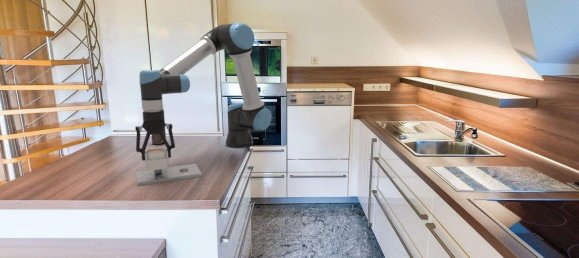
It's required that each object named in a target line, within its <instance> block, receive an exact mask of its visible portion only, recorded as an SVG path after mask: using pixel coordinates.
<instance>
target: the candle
mask: <svg viewBox="0 0 579 258" xmlns="http://www.w3.org/2000/svg"><path fill="white" fill-rule="evenodd" d="M162 111H163V115H164V116H165V109H164V108H163V109H162ZM165 119H166V118H164V122H165ZM165 123H166V122H165ZM162 132H163V134H164V136H165V138H166V139H167V137H166V136H167V133H166V126H165V127H164V129H163V130H162ZM151 143H152V145H162V144H163V145H164V144H165V143H164V141H163V140H162V138H161V136H160V134H151Z"/></svg>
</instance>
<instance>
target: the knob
mask: <svg viewBox="0 0 579 258" xmlns="http://www.w3.org/2000/svg"><path fill="white" fill-rule="evenodd" d="M146 149H147V148H146ZM165 149H166V148H161V147H157V148H150V149H147V150H146V151H147V160H148V169H147V170H148V171H151V170H160V169H167V167H168V166H167V158H166V150H165Z"/></svg>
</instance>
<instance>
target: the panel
mask: <svg viewBox="0 0 579 258" xmlns="http://www.w3.org/2000/svg"><path fill="white" fill-rule="evenodd" d="M198 177H199V178H200V177H203V173H202V172H201V169H200V168H199V167H198V165H197V164H196V163H191V164H183V165H182V164H181V165H175V166H167V169H160V170H151V171H148V169H144V170H136V185H137V187H139V186H145V185H149V184H150V185H151V184H157V183H164V182H165V183H166V182H171V181H178V180H184V179H192V178H198Z"/></svg>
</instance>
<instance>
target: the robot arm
mask: <svg viewBox="0 0 579 258" xmlns="http://www.w3.org/2000/svg"><path fill="white" fill-rule="evenodd" d="M254 42H255V34H254V31H253V30H252V28H251V27H250V26H249V25H248V24H246V23H243V22H234V23H226V24H220V25H217V26H215V27H213V28H212V29H211V30H209V31H208V32H207V33H205V34H203V35H202V36H201V37H200V39H199V41H198V42H197V43H194V45H192V46H191V47H190V48H188V49H187V50H186V51H184V52H182V54H180V55H179V56H177V57H176V58H174V59H173V60H172V61H170V62H169V63H168V64H166V65H165V66H164V67H163V68H161V69H159V70H157V69H156V70H155V69H153V70H152V69H149V70H148V69H144V70H141V71H140V72H139V75H138V76H139V88H140V99H141V101H140V102H141V109H142V120H143V121H142V124H141V125H135V132H136V138H135V139H136V142H135V151H136V152H137V153H140V154H141V160H142V162H144V163H145V170H148V160H147V150H146V149H147V146H148V144H149V140H150V137H151V136H152V134H160V136H161V138H162V140H163V141H164V143H163V144H164V145H165V147H166V148H164V149H165V150H166V158H167V167H170V163H169V162H170V161H169V159H170V158H171V157H172V151H171V150H172V149H175V148H176V145H175V139H174V138H175V137H174V134H173V126H174V125H173V124H172V123H166V122H164V119H165V114H164V115H163V111H162V109H164V103H163V95H169V94H170V95H171V94H183V93H187V92H188V91H189V90H190V88H191V82H190V78H189V76H187V75H186V73H187V72H189V71H190V70H191V69H192V68H194V67H195V66H197V65H198V64H199V63H200V62H202V61H203V60H204V59H206V58H208V57H209V56H210V55H215V54H216V53H218V52H220V51H223V50H226V51H227V54H228V56H229V57H230V58H231V59H232V61H233V66H234V69H235V74H236V77H237V81H238V85H239V89H240V94H241V97H242V100H243V102H242V103H232V104H229V105H228V106H227V111H226V112H227V128H228V131H227V134H226V139H225V147H229V148H231V149H232V148H235V149H242V148H249V147H251V146H253V145H254V139H253V137H252V133H251V131H250V130H254V131H265V130H266V129H268V128H269V126H270V124H271V122H272V117H273V116H272V112H271V110H270V109H268V108H266V105H265V102H264V101H263V100H261V97H260V92H259V88H258V87H259V86H258V84H257V78H256V75H255V71H254V65H253V62H252V57H251V53H252V51H253V48H252V47H253V46H254V44H255V43H254ZM164 127H165V129H167V131H168V136H169V140H170V145H169V143H168V141H167V137H166V138H165V136H164V134H163V132H162V130H163V129H164ZM143 129H144V131H145V133H146V134H145V136H144V137H145V138H144V139H143V140H144V141H143V143H142V146H141V132H142V130H143Z"/></svg>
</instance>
